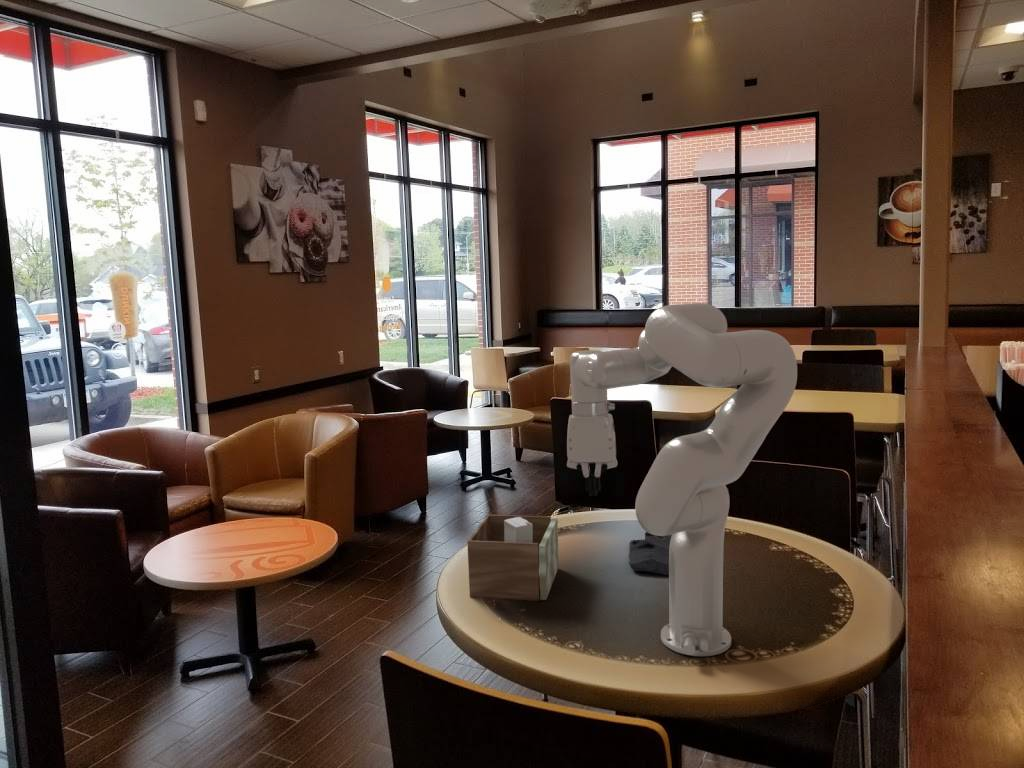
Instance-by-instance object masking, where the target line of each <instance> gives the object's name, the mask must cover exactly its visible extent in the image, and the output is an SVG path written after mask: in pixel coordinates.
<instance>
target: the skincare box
mask: <svg viewBox="0 0 1024 768" xmlns="http://www.w3.org/2000/svg"><path fill="white" fill-rule="evenodd" d="M504 542H523V543H533V525H532V524H531V523H529V522H528V521H527V520H525V519H523V518H521V517H515V518H511V519H507V520H504Z"/></svg>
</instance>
